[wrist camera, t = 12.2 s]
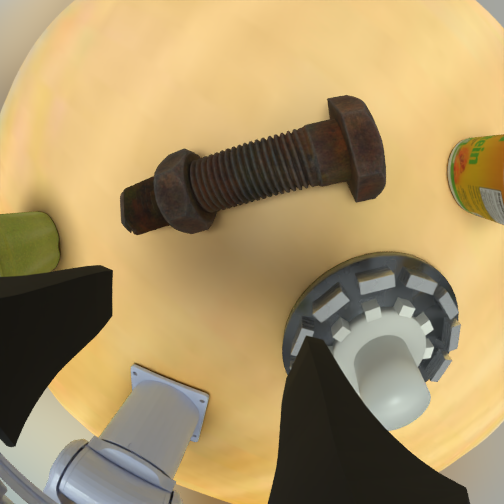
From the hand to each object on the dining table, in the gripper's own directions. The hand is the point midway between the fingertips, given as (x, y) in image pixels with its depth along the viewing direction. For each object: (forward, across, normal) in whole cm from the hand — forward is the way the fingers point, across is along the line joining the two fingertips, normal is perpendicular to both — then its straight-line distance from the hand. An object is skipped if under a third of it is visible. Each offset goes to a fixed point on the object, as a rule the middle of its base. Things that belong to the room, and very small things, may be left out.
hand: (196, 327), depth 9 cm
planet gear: (+8, -11, +4) cm, 14 cm away
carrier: (+9, -11, +4) cm, 15 cm away
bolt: (+10, +2, -5) cm, 11 cm away
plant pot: (+10, +20, +5) cm, 23 cm away
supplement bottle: (+10, -14, -10) cm, 20 cm away
